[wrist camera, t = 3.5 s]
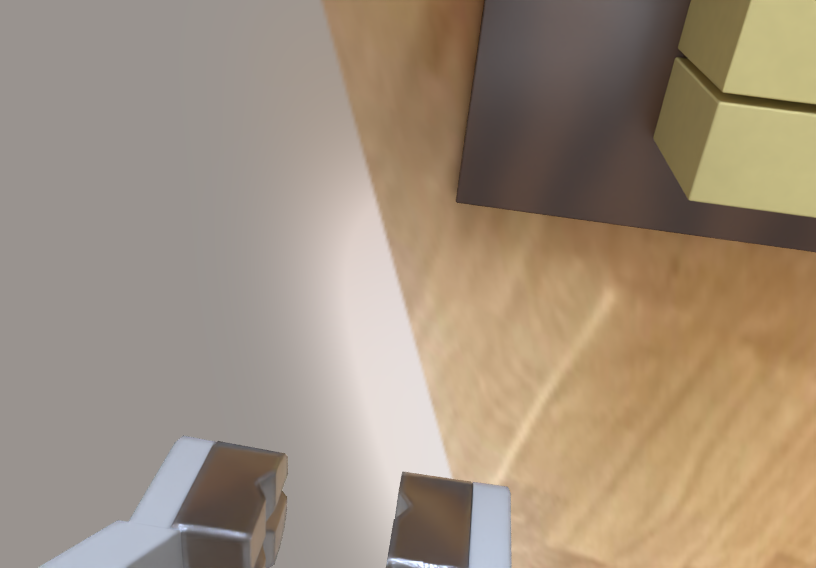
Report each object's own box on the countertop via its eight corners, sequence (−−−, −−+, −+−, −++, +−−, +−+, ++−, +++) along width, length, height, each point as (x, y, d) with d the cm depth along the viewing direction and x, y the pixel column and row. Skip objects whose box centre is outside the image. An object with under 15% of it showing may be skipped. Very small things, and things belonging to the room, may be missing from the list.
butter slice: (652, 138, 32) (687, 201, 25) (675, 56, 30) (718, 102, 24) (793, 157, 31) (863, 225, 25) (824, 75, 30) (907, 126, 23)
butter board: (456, 194, 35) (455, 202, 34) (513, -206, 27) (514, -209, 26) (928, 259, 34) (940, 270, 33) (1133, -139, 26) (1154, -139, 25)
